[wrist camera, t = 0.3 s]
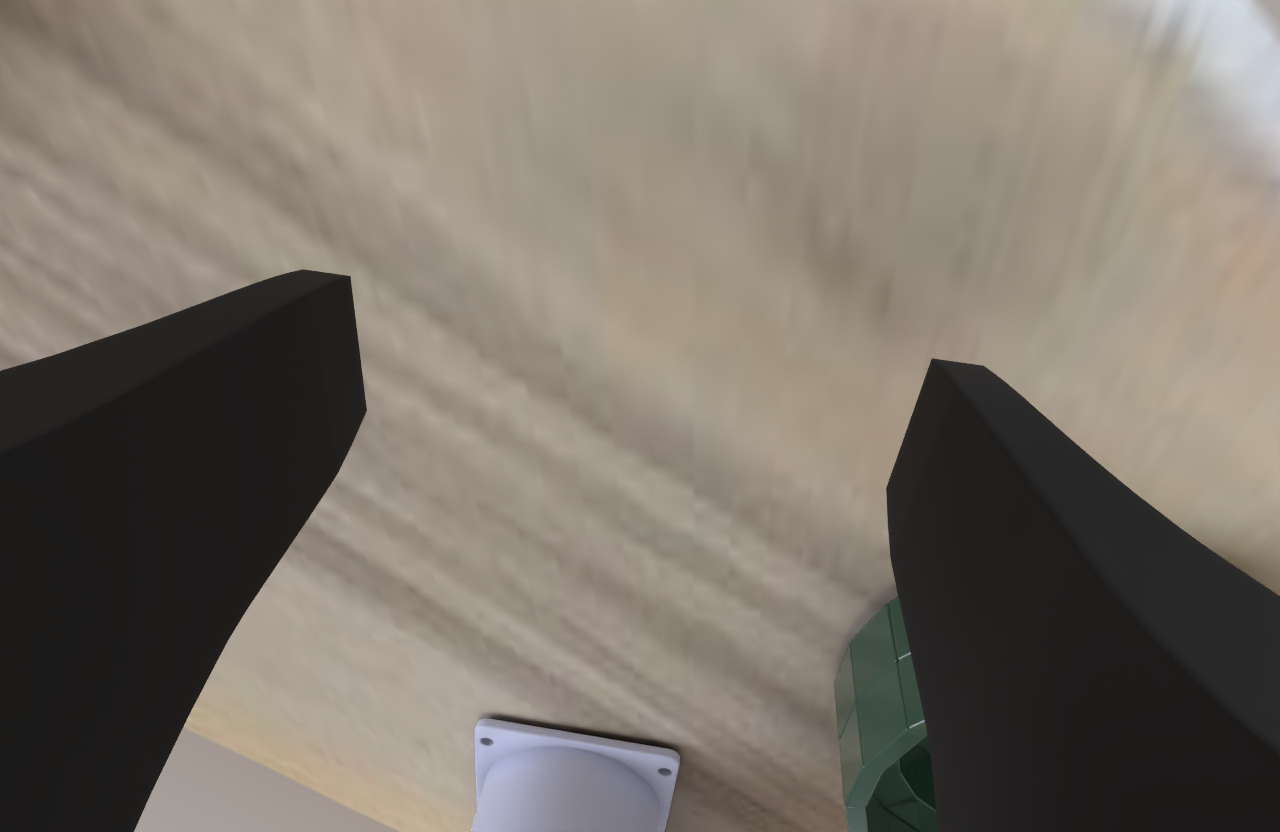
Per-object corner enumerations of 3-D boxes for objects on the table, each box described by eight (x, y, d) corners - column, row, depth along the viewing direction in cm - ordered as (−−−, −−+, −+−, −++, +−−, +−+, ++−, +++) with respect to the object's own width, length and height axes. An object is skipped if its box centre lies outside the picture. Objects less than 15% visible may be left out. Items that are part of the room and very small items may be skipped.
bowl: (1151, 818, 31) (1210, 967, 27) (798, 758, 31) (803, 896, 27) (1368, 571, 23) (1498, 728, 19) (895, 498, 23) (923, 636, 19)
